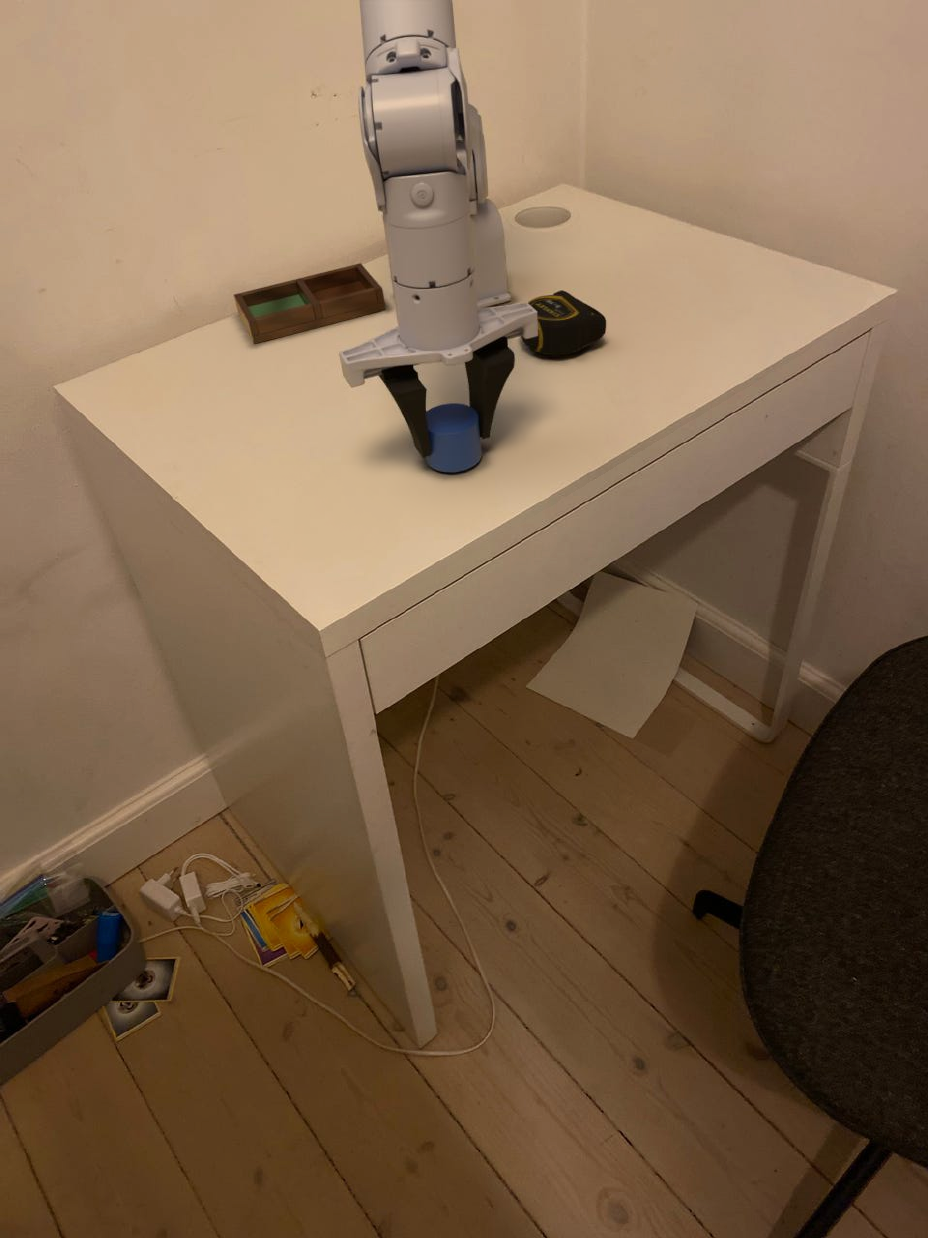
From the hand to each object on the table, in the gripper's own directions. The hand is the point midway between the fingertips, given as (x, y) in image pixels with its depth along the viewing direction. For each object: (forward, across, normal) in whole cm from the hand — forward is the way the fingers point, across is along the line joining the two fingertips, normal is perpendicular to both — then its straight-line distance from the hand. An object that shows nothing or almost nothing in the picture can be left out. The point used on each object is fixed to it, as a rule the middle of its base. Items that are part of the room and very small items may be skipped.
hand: (451, 441), depth 72 cm
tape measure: (+2, +16, +13) cm, 21 cm away
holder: (+2, -3, +32) cm, 32 cm away
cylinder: (+1, 0, 0) cm, 1 cm away
